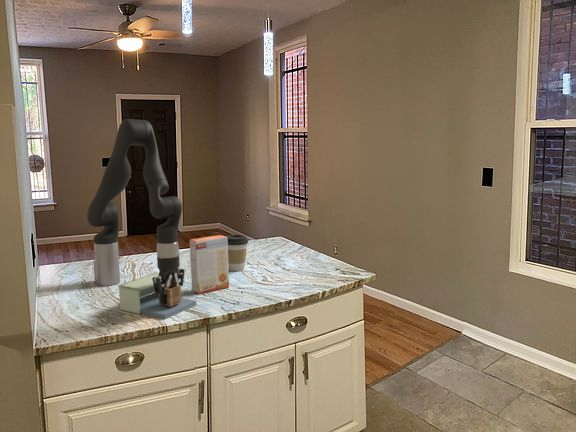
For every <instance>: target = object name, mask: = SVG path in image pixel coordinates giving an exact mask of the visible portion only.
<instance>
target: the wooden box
mask: <svg viewBox="0 0 576 432" xmlns="http://www.w3.org/2000/svg"><path fill="white" fill-rule="evenodd" d="M162 289H163V290H164V287H163V288H162ZM158 290H159V289H158ZM166 294H167V304H162V303H161V300H160V294H159V304H161V305H165V306H170V307H171V306H174V305H176V304H178V303H181V298H182V286H179V285H174V284H173V285H172V284H170V285H169V287H168V289H167V293H166Z"/></svg>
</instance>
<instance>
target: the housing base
mask: <svg viewBox="0 0 576 432" xmlns="http://www.w3.org/2000/svg"><path fill="white" fill-rule="evenodd" d="M195 306H197V300H194V299H188V298H184V297H181V303H178V304H176V305H174V306H171V307H170V306H165V305H161V304H159V293H155V292H154V293H151V294H148V295H146V296H143V297H141V298H140V312H141V313H140V314H142V315H147V316H151V317H154V318H155V317H156V318H158V317H159V318H158V319H163V320H167V319H168V318H171V317H173V316H175V315H177V314H180V313H182V312H185V311H186V310H188V309H191V308H193V307H195Z"/></svg>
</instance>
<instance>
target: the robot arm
mask: <svg viewBox="0 0 576 432" xmlns="http://www.w3.org/2000/svg"><path fill="white" fill-rule="evenodd" d="M131 146H142V147H143V148H144V150H145V153H146V154H145V155H146V156H145V161H144V164H143V168H142V177H143V180H144V182H145V184H146V188H147V189H148V196H149V197H148V198H149V211H150V213H151V215H152V216H153V218H154V219H155V218H156V219H159V220H161V219H166V218H167V220H166V222H164V223H161V224H160V225H158V226H157V227H156V241H157V242H156V262H157V265H156V266H157V269H158V270H159V271H158V273H159V276H157V277H153V278H152V280H153V284H154V289H155V292H154V293H159V294H160V300H161V303H162V304H167V294H166V293H167V289H168V287H169V285H170V283H171V284H172V285H173V284H174V285H179V286H181V287H182V286H183V285H184V281H185V280H184V279H185V271H186V269H183V268H180V245H179V237H178V236H179V234H178V233H179V232H178V231H179V230H178V229H179V224H180V220H181V216H182V212H183V205H182V201H181V199H180V198H179V197H177V196H174V195H173V196H166V197H165V196H164V197H161V196H162V195H164V194H166V193H167V192H169V190H170V189H169V188H170V185H169V183H168V180H167V177H166V175H165V172H164V170H163V167H162V164H161V160H160V155H159V149H158V145H157V140H156V136H155V130H154V129H153V125H152V124H151V122H149V121H148V120H145V119H133V118H126V119H123V120H122V121H121V123H120V124H119V127H118V129H117V134H116V137H115V141H114V145H113V149H112V152H111V155H110V157H109V160H108V163H107V165H106V167H105V170H104V173H103V176H102V179H101V181H100V184H99V187H98V189H97V191H96V193H95V194H94V197H93V199H92V201H91V202H90V204H89V205H88V209H87V213H86V217H87V218H86V219H87V222H88V224H89V225H90V226H91V227H93V228H94V227H95V228H97V227H98V228H99V227H103V229H102V230H101V231H100V232H98V233H97V234H94V236H93V247H94V248H93V249H94V251H93V252H94V260H93V274H94V283H95V284H97V286H103V287H108V286H113V285H119V283H120V282H121V276H120V275H121V273H120V257H119V255H120V254H119V253H120V252H119V238H118V237H119V231H120V230H119V210H118V207H117V205H116V204H115V203H114V202H112V200H114V199H115V198H116V197H118V196H119V195H120V194H121V193H122V192H123V191H124V190H125V189H126V188H127V186H128V183H129V181H130V178H131V176H132V168H131V167H132V166H131V164H130V162H129V160H128V156H127V155H128V150H129V148H130V147H131ZM163 283H165V284H166V285H164V284H163ZM163 287H164V290H163V289H162V288H163ZM158 289H159V290H158Z"/></svg>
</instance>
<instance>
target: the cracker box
mask: <svg viewBox="0 0 576 432" xmlns="http://www.w3.org/2000/svg"><path fill="white" fill-rule="evenodd" d="M189 253H190V254H189V255H190V256H189V257H190V258H189V259H190V274H191V275H190V276H191V277H190V279H191V291H193V292H194V293H196V294H197V295H200V294H205V293H209V292H214V291H218V290H223V289H227V288H230V276H229V275H230V274H229V273H230V272H229V271H230V270H229V268H228V239H227V237H226V236H224V235H222V234H217V235H212V236H205V237H198V238H191V239H189Z"/></svg>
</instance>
